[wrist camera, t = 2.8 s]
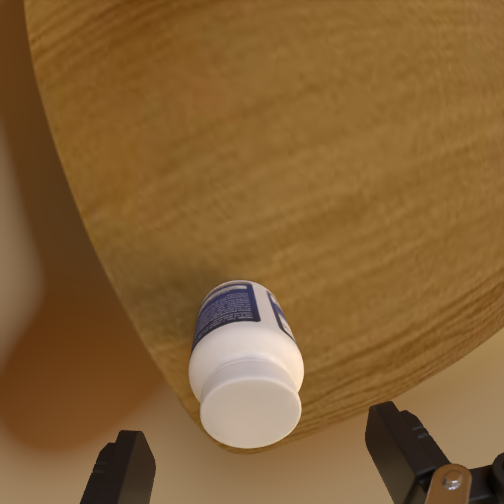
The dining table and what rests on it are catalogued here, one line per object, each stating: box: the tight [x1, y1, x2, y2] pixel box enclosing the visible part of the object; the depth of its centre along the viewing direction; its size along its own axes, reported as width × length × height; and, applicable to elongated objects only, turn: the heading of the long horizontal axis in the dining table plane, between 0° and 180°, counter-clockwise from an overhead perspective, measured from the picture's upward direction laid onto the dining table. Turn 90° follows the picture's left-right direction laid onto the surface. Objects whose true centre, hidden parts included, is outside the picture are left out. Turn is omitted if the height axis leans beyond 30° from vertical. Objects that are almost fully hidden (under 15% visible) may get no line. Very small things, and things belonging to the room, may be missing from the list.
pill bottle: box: [189, 280, 304, 448], centre depth 16 cm, size 5×5×10 cm
